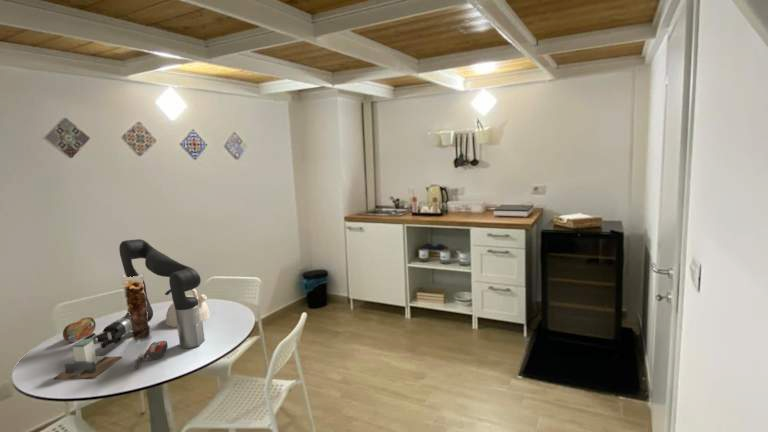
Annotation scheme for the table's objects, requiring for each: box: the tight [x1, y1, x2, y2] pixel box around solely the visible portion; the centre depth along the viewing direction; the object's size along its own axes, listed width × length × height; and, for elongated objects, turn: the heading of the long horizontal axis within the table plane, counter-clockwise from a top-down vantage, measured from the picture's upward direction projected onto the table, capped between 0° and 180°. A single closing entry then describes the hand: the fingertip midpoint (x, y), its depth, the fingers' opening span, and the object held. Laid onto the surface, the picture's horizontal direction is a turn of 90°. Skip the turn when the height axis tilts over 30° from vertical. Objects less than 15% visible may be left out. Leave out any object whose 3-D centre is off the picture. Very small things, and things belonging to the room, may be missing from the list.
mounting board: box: [53, 355, 123, 380], centre depth 168 cm, size 16×16×1 cm
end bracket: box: [64, 361, 96, 374], centre depth 163 cm, size 11×2×4 cm, turn 88°
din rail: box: [71, 355, 107, 376], centre depth 168 cm, size 4×14×1 cm, turn 177°
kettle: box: [164, 288, 211, 328], centre depth 213 cm, size 20×21×18 cm
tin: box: [62, 316, 96, 343], centre depth 197 cm, size 15×3×8 cm, turn 168°
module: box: [72, 338, 97, 363], centre depth 166 cm, size 4×5×10 cm
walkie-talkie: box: [133, 340, 168, 370], centre depth 174 cm, size 9×4×20 cm
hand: (91, 346), depth 169 cm, fingers open, 8 cm apart
